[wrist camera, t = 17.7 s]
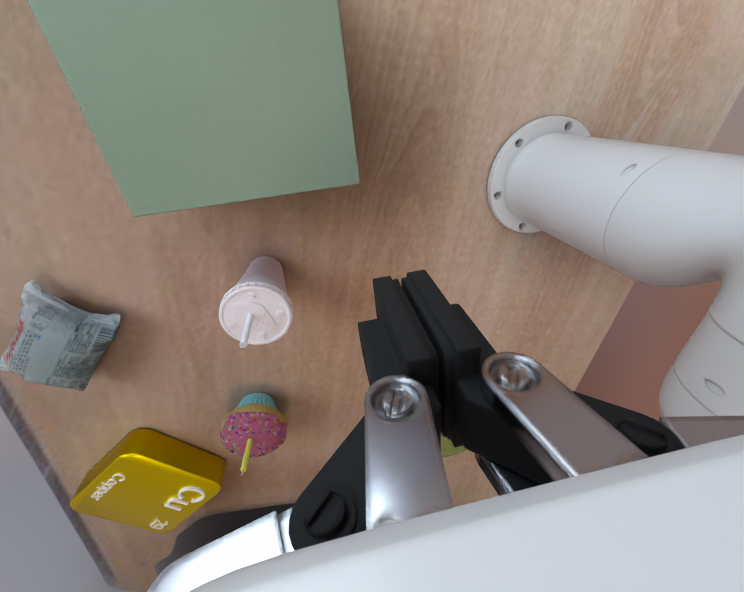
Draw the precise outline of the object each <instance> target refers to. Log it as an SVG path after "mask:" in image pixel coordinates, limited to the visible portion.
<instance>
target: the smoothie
mask: <svg viewBox="0 0 744 592" xmlns="http://www.w3.org/2000/svg"><path fill="white" fill-rule="evenodd" d="M292 317H293V307H292V304H291V302H290V299H289V298H288V297H287V292H286V286H285V280H284V275H283V269H282V266H281V264H280V263H279V262H278V261H277V260H276V259H275V258H273V257H270V256H260V257H257V258H255V259H254V260H253V261H252V262H251V264H250V265H249V267H248V268H247V269H246V271H245V272H244V274H243V275H242V277H241V278H240V280H239V281H238V283H237V284H236V285H235V287H233V288H231V289H230V290H229V291H228V292H227V293H226V294H225V295H224V297H223V299H222V301H221V305H220V308H219V320H220V323H221V325H222V327H223V329H224V330H225V331H226V332H227V333H228V334H229V335H230V336H231V337H233V338H234V339H236V340H238V341H240V344H239V345H240V347H241V348H245V347H247V344H254V345H261V344H267V343H271V342H274V341H276V340H278V339H279V338H281V337H282V336H283V335H284V334H285V333H286V332H287V331H288V329H289V328H290V325H291V322H292Z"/></svg>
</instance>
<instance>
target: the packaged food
mask: <svg viewBox="0 0 744 592" xmlns="http://www.w3.org/2000/svg"><path fill="white" fill-rule="evenodd" d="M21 300H22V302H23V304H24V307H23V309H22V311H21V313H20V315H19V318H18V322H17V329H18V330H17V332H16V333H15V335H14V337H13V339H12V340H11V341H10V343H9V346H8V348H7V349H6V351H5V352H4V354H3V356H2V357H0V370H2V371H7V372H13V373H15V374H18V375H20V376H22V377H23V380H22V381H27V382H32V383H38V384H44V385H50V386H57V387H63V388H68V389H77V390H79V391H84V390H85V388H86V386H87V385H88V382H89V380H90V378H91V376H92V375H93V373H94V371H95V369H96V367H97V365H98V363H99V360H100V359H101V356H102V355H103V353H104V351H105V350H106V348H107V346H108V344H109V343H111V342H112V341H113V340H114V339H115V337H116V336H117V334H118V329H119V327H120V319H121V316H120V314H117V313H114V314H110V315H105V314H96V313H91V312H87V311H83V310H81V309H80V308H77V307H74V306H72V305H71V304H68V303H66V302H65V301H63V300H61V299H59V298H57V297H55V296H54V295H52V294H50V293H49V292H47V291H45V290H44V289H43V288H42V286H40V285H38V284H37V283H36V282H34V281H33V280H30V281H29V282H27V283H26V284H25V286H24V288H23V291H22V295H21Z"/></svg>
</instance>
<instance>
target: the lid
mask: <svg viewBox="0 0 744 592" xmlns="http://www.w3.org/2000/svg"><path fill="white" fill-rule="evenodd" d="M27 1H28V3H29V5H30V7H31V9H32V11H33V13H34V15H35V17H36V19H37V21H38V23H39V25H40V27H41V29H42V31H43V33H44V35H45V37H46V39H47V41H48V44H49V46H50V48H51V50H52V52H53V54H54V56H55V58H56V60H57V62H58V64H59V66H60V68H61V70H62V72H63V74H64V76H65V78H66V80H67V82H68V84H69V86H70V88H71V90H72V92H73V94H74V96H75V99H76V101H77V103H78V105H79V107H80V109H81V111H82V113H83V115H84V117H85V119H86V121H87V123H88V125H89V127H90V129H91V131H92V133H93V135H94V137H95V139H96V141H97V143H98V145H99V147H100V149H101V151H102V153H103V156H104V158H105V160H106V162H107V164H108V166H109V168H110V170H111V172H112V174H113V176H114V178H115V180H116V182H117V184H118V186H119V188H120V190H121V192H122V194H123V196H124V198H125V200H126V202H127V204H128V206H129V208H130V211H131V213H132V215H133V216H134V217H139V216H146V215H153V214H160V213H166V212H173V211H180V210H187V209H193V208H200V207H207V206H214V205H220V204H227V203H234V202H241V201H247V200H254V199H261V198H268V197H274V196H281V195H288V194H295V193H301V192H308V191H315V190H322V189H328V188H335V187H342V186H349V185H355V184H360V178H359V169H358V161H357V153H356V145H355V136H354V128H353V120H352V111H351V103H350V95H349V86H348V78H347V70H346V61H345V53H344V45H343V36H342V28H341V20H340V11H339V3H338V0H27Z"/></svg>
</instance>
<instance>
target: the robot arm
mask: <svg viewBox="0 0 744 592" xmlns="http://www.w3.org/2000/svg"><path fill="white" fill-rule="evenodd" d="M515 143H516V144H515ZM494 194H495V195H494ZM487 198H488V203H489V207H490V209H491V211H492V213H493V215H494V217H495V218H496V219H497V220H498V221H499V222H500V223H501V224H502V225H504V226H505V227H507V228H509V229H511V230H512V231H515V232H519V233H534V232H540V231H544V232H545V233H547V234H549V235H551V236H553V237H555V238H556V239H558V240H560V241H562V242H564V243H566V244H568V245H569V246H571V247H573V248H575V249H577V250H579V251H581V252H582V253H584V254H586V255H588V256H590V257H592V258H593V259H595V260H597V261H599V262H601V263H603V264H605V265H606V266H608V267H610V268H612V269H614V270H616V271H618V272H619V273H621V274H623V275H625V276H627V277H629V278H631V279H633V280H636V281H638V282H641V283H645V284H648V285H655V286H662V287H673V286H687V285H695V284H702V283H707V282H713V281H718V280H721V288H720V290H719V292H718V294H717V296H716V297H715V299H714V301H713V302H712V304H711V306H710V307H709V311H708V312H707V314H706V315H705V317H704V318H703V320H702V321H701V323H700V324H699V326H698V327H697V329H696V330H695V331H694V333H693V334H692V336H691V337H690V339H689V340H688V342H687V343H686V345H685V346H684V348H683V349H682V351H681V352H680V354H679V355H678V357H677V358H676V360H675V362H674V364H673V365H672V367H671V368H670V370H669V372H668V374H667V375H666V377H665V379H664V381H663V383H662V386H661V389H660V393H659V407H660V411H661V413H662V416H663V417H660V418H659V420H658V421H656V420H655V419H653V418H650V417H648V416H646V415H643V414H641V413H638V412H635V411H632V410H628V409H626V408H623V407H620V406H617V405H613V404H610V403H607V402H604V401H601V400H598V399H595V398H592V397H589V396H586V395H583V394H580V393H577V392H574V391H571V390H570V389H569V388H568V387H567V386H565V385H564V384H563V383H562V382H561V381H560V380H558V379H557V378H556V377H555V376H554V375H553V374H551V373H550V372H549V371H548V370H547V369H546V368H544V367H543V366H542V365H541V364H540V363H538V362H537V361H536V360H534V359H533V358H531V357H528V356H526V355H524V354H520V353H515V352H500V353H496V351H495V350H494V349H493V348H492V346H491V345H490V344H489V342H488V341H487V340H486V338H485V337H484V336H483V335H482V333H481V332H480V331H479V329H478V328H477V327H476V326H475V324H474V323H473V322H472V320H471V319H470V318H469V316H468V315H467V314H466V313H465V311H464V310H463V309H462V307H461V306H460V305H459V304H452V305H450V304H449V302H448V301H447V299H446V298H445V297H444V295H443V294H442V293H441V291H440V290H439V288H438V287H437V286H436V284H435V283H434V282H433V280H432V279H431V277H430V276H429V275H428V273H427V272H426V271H425V270H420V271H414V272H409V273H407V277H406V278H402V280H401V284H402V287H401V285H400V283H399V281H398V279H395V280H392V278H391V277H390V276H387V277H381V278H375V279H373V288H374V296H375V304H376V313H377V319H374V320H369V321H363V322H358V329H359V335H360V342H361V347H362V353H363V358H364V363H365V367H366V372H367V376H368V380H369V384H370V387H369V389H368V390H367V392H366V395H365V401H364V406H365V416H364V417H363V418H362V419H361V421H360V422H359V423H358V424H357V426H356V427H355V428H354V429H353V430H352V432H351V433H350V434H349V435H348V437H347V438H346V439H345V440H344V442H343V443H342V444H341V445H340V447H339V448H338V449H337V450H336V452H335V453H334V454H333V455H332V457H331V458H330V459H329V460H328V462H327V463H326V464H325V465H324V467H323V468H322V469H321V470H320V472H319V473H318V474H317V475H316V476H315V478H314V479H313V480H312V481H311V483H310V484H309V485H308V486H307V488H306V489H305V490H304V491H303V493H302V494H301V495H300V496H299V498H298V500H297V501H296V503H295V505H294V506H293V508H291V509H289V510H287V511H285V512H283V513H281V514H279V515H277V513H276V511H274V512H272V513H270V514H268V515H266V516H264V517H262V518H260V519H258V520H256V521H254V522H252V523H250V524H248V525H245V526H243V527H242V528H239V529H238V530H235V531H233V532H231V533H230V534H227V535H226V536H223V537H221V538H219V539H217V540H215V541H213V542H211V543H209V544H207V545H205V546H203V547H201V548H199V549H197V550H195V551H193V552H191V553H189V554H187V555H185V556H183V557H181V558H179V559H178V560H176V561H175V562H173V563H172V564H170V565H169V566H167V567H166V568H165V569H164V570H163V571H162V572H161V574H160V575H159V576H158V577H157V578H156V579H155V580H154V581H153V583H152V584H151V586H150V588H149V590H148V592H744V155H734V154H725V153H717V152H709V151H702V150H693V149H685V148H677V147H669V146H661V145H652V144H644V143H636V142H629V141H627V140H624V141H620V140H612V139H604V138H596V137H592V136H591V134H590V132H589V130H588V129H587V128H586V127H585V126H584V125H583V124H582V123H581V122H579V121H577V120H576V119H574V118H570V117H566V116H547V117H542V118H539V119H536V120H533V121H532V122H530V123H528V124H526V125H524V126H523V127H521V128H520V129H519V130H518V131H517V132H515V133H514V134H513V135H512V136H511V137H510V138H509V139H508V140H507V142H506V143H505V144H504V145H503V147H502V148H501V150H500V151H499V153H498V154H497V156H496V158H495V160H494V162H493V164H492V167H491V170H490V174H489V177H488V185H487ZM441 434H442V436H443V437H447V436H449V437H450V439H451V442H452V444H453V446H454V448H456V447H460V446H464V448H466V449H468V450H470V451H472V452H474V453H475V458H476V460H477V462H478V464H479V466H480V467H481V469H482V470H483V472H484V473H485V475H486V476H487V478H488V479H489V481H490V483H491V484H492V486H493V487H494V489H495V490H496V492H497V493H498V495H499V496H496V497H492V498H488V499H485V500H481V501H477V502H473V503H469V504H465V505H462V506H458V507H454V508H453V503H452V499H451V494H450V490H449V485H448V481H447V477H446V472H445V468H444V463H443V459H442V455H441Z"/></svg>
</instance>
